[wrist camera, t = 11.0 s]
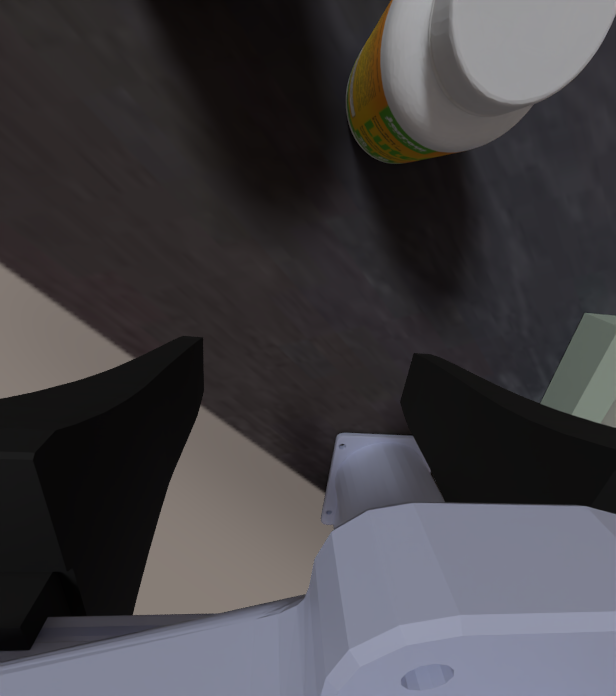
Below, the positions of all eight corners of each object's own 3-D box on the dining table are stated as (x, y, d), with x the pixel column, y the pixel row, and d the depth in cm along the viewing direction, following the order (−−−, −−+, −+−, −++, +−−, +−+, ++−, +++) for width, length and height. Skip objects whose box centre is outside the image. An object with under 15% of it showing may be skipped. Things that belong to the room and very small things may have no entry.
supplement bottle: (332, 151, 17) (388, 110, 8) (360, 12, 15) (479, -252, 6) (430, 175, 18) (578, 162, 9) (471, 47, 15) (721, -139, 7)
